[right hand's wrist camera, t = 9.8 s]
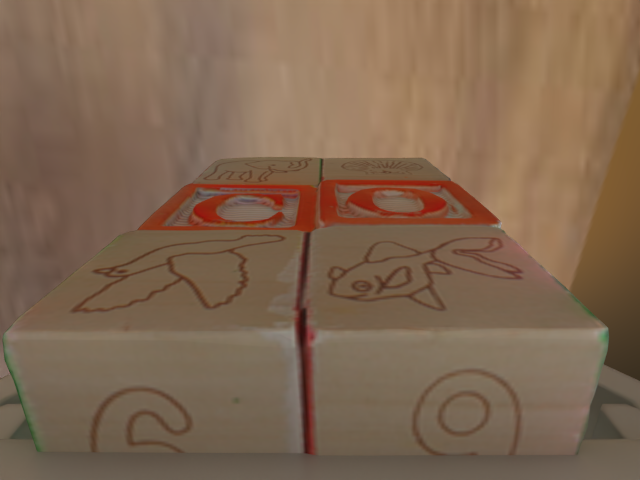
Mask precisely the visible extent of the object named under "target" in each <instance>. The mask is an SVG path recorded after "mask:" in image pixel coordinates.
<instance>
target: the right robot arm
mask: <svg viewBox="0 0 640 480" xmlns="http://www.w3.org/2000/svg"><path fill="white" fill-rule="evenodd" d="M0 480H640V381H638V380H636V379H634V378H631V377H629V376H627V375H625V374H623V373H621V372H619V371H616V370H614V369H612V368H610V367H608V366H606V365H603V367H602V370H601V373H600V377H599V381H598V384H597V388H596V391H595V395H594V397H593V400H592V402H591V404H590V411H589V419H588V427H587V430H586V433H585V435H584V438H583V441H582V443H581V446H580V449H579V452H578V454H577V455H412V456H318V455H312V454H306V453H124V452H38V451H37V450H36V447H35V444H34V441H33V438H32V435H31V432H30V429H29V426H28V423H27V420H26V417H25V414H24V411H23V408H22V405H21V402H20V399H19V396H18V393H17V390H16V387H15V384H14V381H13V378H12V376H11V374H9V375H7V376H5V377H3V378H0Z"/></svg>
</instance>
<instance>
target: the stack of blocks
mask: <svg viewBox="0 0 640 480" xmlns="http://www.w3.org/2000/svg"><path fill="white" fill-rule="evenodd" d="M608 342H609V335H608V328H607V326H605V325H604V324H603V323H602V322H601V321H600V320H599V319H598V318H597V317H596V316H594V315H593V314H592V313H591V312H590V311H589V310H588V309H587V308H586V307H585V306H584V305H583V304H582V303H581V302H580V301H579V300H578V299H577V298H576V297H575V296H574V295H573V294H572V293H571V292H570V291H569V290H568V289H567V288H566V287H564V286H563V285H562V284H561V283H560V282H559V281H558V280H557V279H556V278H555V277H554V276H552V275H551V274H550V273H549V272H548V271H547V270H546V269H545V268H544V267H542V266H541V265H540V264H539V263H538V262H537V261H536V260H535V259H533V258H532V257H531V256H530V255H529V254H528V253H527V252H526V251H525V250H524V249H523V248H522V247H521V246H520V245H519V244H518V243H517V242H516V241H515V240H513V239H512V238H511V237H509V236H508V235H506V233H505V232H504V231H503V230H502V229H501V222H500V220H499V219H498V218H497V217H496V216H495V215H493V214H492V213H491V212H490V211H489V210H488V209H486V208H485V207H484V206H483V205H482V204H481V203H480V202H478V201H477V200H476V199H475V198H474V197H473V196H471V195H470V194H469V193H468V192H466V191H465V190H464V189H463V188H462V187H460V186H459V185H458V184H456V183H454V182H452V181H451V180H450V178H448V177H447V176H446V175H444V174H443V173H442V172H441V171H439V170H438V169H437V168H436V167H434V166H433V165H432V164H431V163H430V162H428V161H427V160H426V159H423V158H325V159H321V158H304V157H258V158H233V159H221V160H218V161H216V162H214V163H213V164H212V165H211V166H209V167H208V168H207V169H206V170H205V171H204V172H203V173H202V174H201V175H200V176H199V177H198V178H197V179H196V180H195V181H194V182H193V183H192V184H188V185H186V186H184V187H183V188H181V190H180V191H179V192H177V193H176V194H175V195H174V196H173V197H172V198H170V199H169V200H168V201H167V202H166V203H165V204H164V205H163V206H161V207H160V208H159V209H158V210H157V211H156V212H154V213H153V214H152V215H151V216H150V217H149V218H148V219H147V220H146V221H145V222H144V223H143V224H142V225H141V226H140V227H139V229H138V230H137V231H131V232H127V233H125V234H122V235H119V236H118V237H117V238H116V239H115V240H113V241H112V242H111V243H110V244H109V245H108V246H106V247H105V248H104V249H102V250H101V251H100V252H99V253H98V254H97V255H96V256H94V257H93V258H92V259H91V260H89V261H88V262H87V263H85V264H84V265H83V266H82V267H80V268H79V269H78V270H77V271H75V272H74V273H73V274H72V275H70V276H69V277H68V278H67V279H66V280H65V281H63V282H62V283H61V284H60V285H59V286H57V287H56V288H55V289H54V290H52V291H51V292H50V293H49V294H47V295H46V296H45V297H44V298H42V299H41V300H40V301H39V302H37V303H36V304H35V305H34V306H32V307H31V308H30V309H29V310H28V311H26V312H25V313H24V314H23V315H21V316H20V317H19V318H18V319H17V320H16V321H15V322H14V323H13V324H12V325H11V327H10V328H9V329H8V330H7V331H6V332H5V333H4V335H3V348H4V358H5V362H6V364H7V367H8V369H9V371H10V374H11V376H12V378H13V381H14V384H15V387H16V390H17V393H18V396H19V399H20V402H21V405H22V408H23V411H24V414H25V417H26V420H27V423H28V426H29V429H30V432H31V435H32V438H33V441H34V444H35V447H36V450H37V451H38V452H124V453H306V454H312V455H318V456H412V455H577V454H578V452H579V449H580V446H581V443H582V441H583V438H584V435H585V433H586V430H587V427H588V419H589V411H590V404H591V402H592V400H593V397H594V395H595V391H596V388H597V384H598V381H599V377H600V373H601V370H602V367H603V363H604V360H605V357H606V353H607V349H608Z"/></svg>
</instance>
